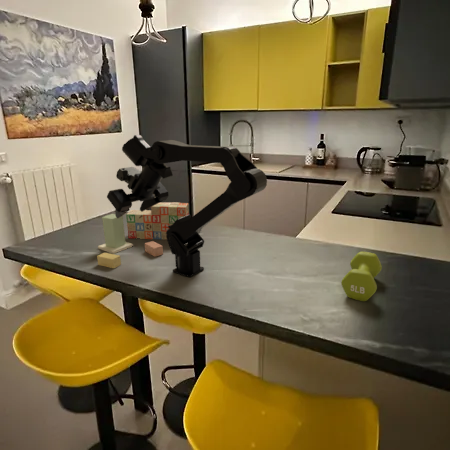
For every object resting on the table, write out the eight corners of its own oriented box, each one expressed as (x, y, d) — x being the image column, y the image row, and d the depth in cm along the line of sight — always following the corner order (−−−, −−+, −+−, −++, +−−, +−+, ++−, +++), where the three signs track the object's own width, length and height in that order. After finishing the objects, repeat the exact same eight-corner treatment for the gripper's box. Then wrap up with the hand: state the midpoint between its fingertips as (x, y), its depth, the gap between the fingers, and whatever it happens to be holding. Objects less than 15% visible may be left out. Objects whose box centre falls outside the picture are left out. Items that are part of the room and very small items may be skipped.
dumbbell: (350, 271, 95) (353, 248, 93) (381, 278, 91) (384, 253, 89) (338, 297, 81) (341, 270, 79) (373, 306, 77) (377, 278, 75)
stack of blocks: (127, 239, 121) (124, 205, 117) (133, 233, 127) (130, 201, 123) (186, 240, 120) (185, 206, 116) (189, 234, 125) (188, 202, 122)
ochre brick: (121, 265, 100) (120, 255, 99) (113, 269, 97) (112, 259, 96) (105, 261, 102) (104, 252, 101) (98, 265, 99) (97, 256, 98)
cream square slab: (133, 248, 114) (132, 243, 113) (113, 255, 108) (112, 251, 107) (118, 243, 118) (117, 239, 118) (98, 250, 112) (97, 246, 112)
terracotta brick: (163, 254, 107) (162, 245, 106) (154, 257, 105) (154, 248, 104) (153, 249, 111) (152, 241, 110) (145, 251, 109) (144, 243, 109)
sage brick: (125, 243, 113) (122, 215, 110) (115, 248, 109) (112, 219, 106) (115, 241, 115) (112, 213, 112) (105, 246, 111) (101, 217, 108)
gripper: (157, 154, 102) (137, 189, 111) (105, 160, 88) (87, 200, 97) (179, 181, 100) (157, 214, 109) (129, 191, 85) (109, 229, 94)
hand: (129, 213), depth 102 cm, fingers open, 9 cm apart
